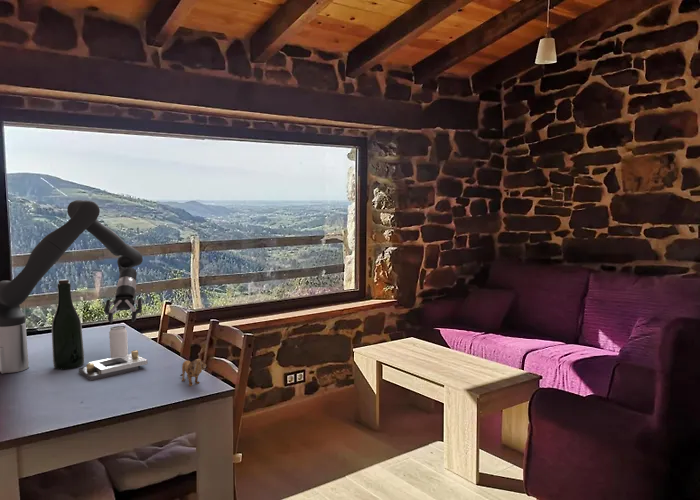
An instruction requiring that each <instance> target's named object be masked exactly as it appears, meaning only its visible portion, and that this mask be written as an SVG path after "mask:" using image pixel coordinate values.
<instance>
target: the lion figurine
mask: <svg viewBox="0 0 700 500" xmlns="http://www.w3.org/2000/svg"><path fill="white" fill-rule="evenodd" d="M206 367H207V364H206V363H204V362H203V361H202V359H201V358H197V359H194V360H192V361H190V360H185V361H183V363H182V366H181V368H182V371H181V372H182V373H181V374H180V375H179V376H180V377H182V378H181V382H185V381H186V378H188V387H193V385H194V384H193V383H195V384H196V385H198V384H200V381H198V378H199V377H200V374H201V373H202V372H203V371H205V369H206ZM185 374H186V375H185ZM185 376H186V377H185ZM193 378H194V382H193V380H192V379H193Z"/></svg>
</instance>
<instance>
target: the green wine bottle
mask: <svg viewBox="0 0 700 500" xmlns="http://www.w3.org/2000/svg"><path fill="white" fill-rule="evenodd" d="M71 287H72V286H71V282H70V280H69V279H64V278H63V279H59V280H58V283H57V293H58V294H57V297H58V298H57V307H56V310H55V313H54V315H53V319H52V322H51V342H52V343H51V344H52V345H51V346H52V348H51V349H52V363H53V367H54V368H55V369H56V370H70V369H71V370H72V369H75V368H80V367H81V366H82V365H84V364H85V354H84V352H85V349H84V341H83V340H84V338H83V327H82V322H81V319H80V317H79V314H78V311H77V310H76V309H75V305H74V302H73V297H72V290H71V289H72V288H71Z"/></svg>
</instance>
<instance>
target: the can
mask: <svg viewBox="0 0 700 500" xmlns="http://www.w3.org/2000/svg"><path fill="white" fill-rule="evenodd" d="M108 333H109V334H108V335H109V351H110V353H109V354H110V358H113V357H118V356H123V355H128V354H129V348H128V347H129V345H128V342H129V341H128V331H127V329H126V326H125V325H117V326H116V325H115V326H112V327H110V328H109V332H108Z"/></svg>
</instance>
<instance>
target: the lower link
mask: <svg viewBox="0 0 700 500" xmlns="http://www.w3.org/2000/svg"><path fill="white" fill-rule="evenodd" d="M117 364H122V362H116V363H112V364H107V365H104V366H105V367H108V366H113V365H117ZM136 371H139V366H136V367H132V368H127V369H123V370H118V371H113V372H109V373H104V374H100V373H99V372H97V371H96V370H94V363H89V362H88V363H87V364H86V366H85V367H78V373H79V374H80V375H82V376H83V377H85V378H87V379H88V380H89V381H96V380H101V379H104V378H108V377H109V378H110V377H113V376H117V375H123V374H126V373H132V372H136Z"/></svg>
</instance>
